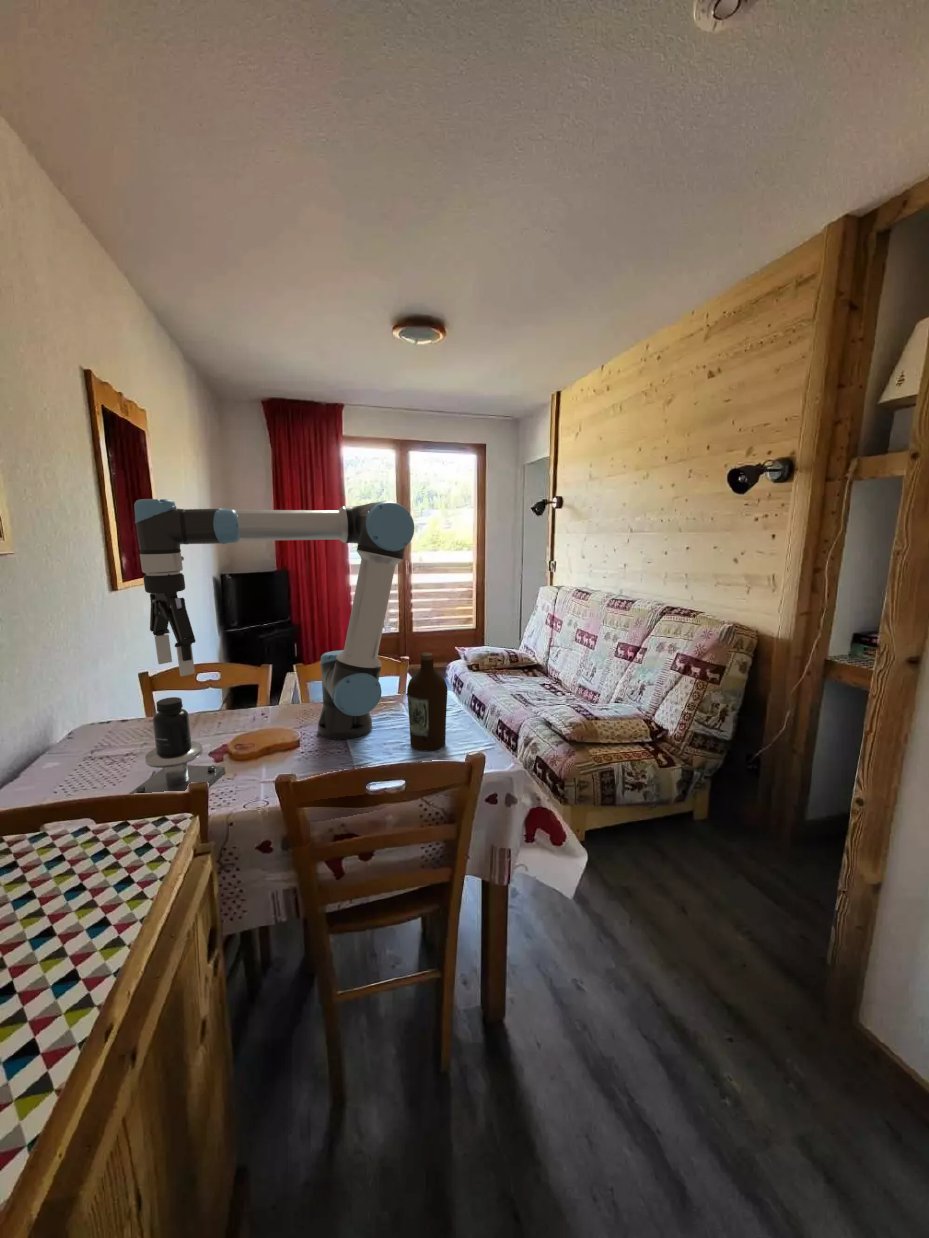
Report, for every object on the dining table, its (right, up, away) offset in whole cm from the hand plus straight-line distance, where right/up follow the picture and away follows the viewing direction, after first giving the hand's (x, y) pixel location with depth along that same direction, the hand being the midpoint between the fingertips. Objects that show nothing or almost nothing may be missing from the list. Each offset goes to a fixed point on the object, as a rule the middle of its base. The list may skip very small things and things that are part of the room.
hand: (176, 668), depth 112 cm
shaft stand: (0, -27, +2) cm, 27 cm away
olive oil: (+54, -23, +24) cm, 63 cm away
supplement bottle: (0, -19, 0) cm, 19 cm away
